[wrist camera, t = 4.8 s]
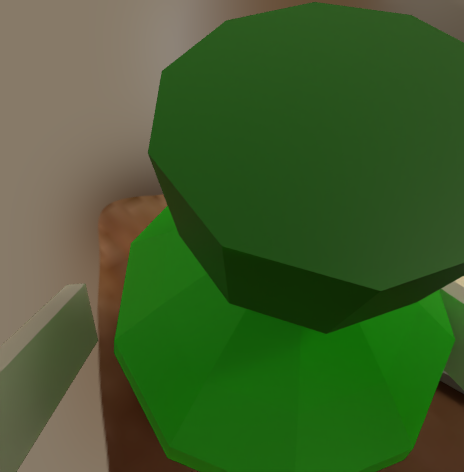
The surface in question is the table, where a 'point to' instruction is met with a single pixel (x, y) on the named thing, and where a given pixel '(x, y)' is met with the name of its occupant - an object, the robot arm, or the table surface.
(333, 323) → the plastic bottle
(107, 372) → the table surface
